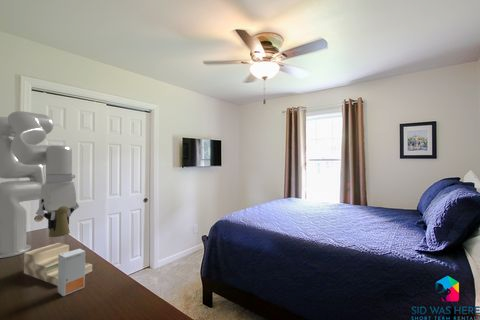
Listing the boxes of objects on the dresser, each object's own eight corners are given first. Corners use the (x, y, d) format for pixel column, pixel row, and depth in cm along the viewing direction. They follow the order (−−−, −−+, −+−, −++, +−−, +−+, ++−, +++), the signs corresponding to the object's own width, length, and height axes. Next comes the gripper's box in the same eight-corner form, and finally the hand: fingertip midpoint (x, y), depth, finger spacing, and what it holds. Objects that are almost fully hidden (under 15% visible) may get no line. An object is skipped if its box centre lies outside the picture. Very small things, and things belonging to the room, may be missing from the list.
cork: (57, 237, 79) (57, 206, 79) (44, 236, 80) (44, 205, 80) (73, 232, 85) (73, 203, 85) (61, 231, 86) (61, 202, 86)
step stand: (24, 273, 82) (24, 252, 82) (58, 260, 92) (58, 242, 92) (58, 286, 73) (58, 263, 73) (92, 271, 84) (92, 251, 84)
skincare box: (63, 297, 68) (63, 257, 68) (57, 292, 70) (57, 254, 70) (85, 287, 73) (85, 250, 73) (79, 283, 75) (79, 247, 75)
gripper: (76, 177, 92) (76, 222, 92) (25, 180, 76) (24, 234, 76) (88, 177, 89) (88, 224, 89) (37, 181, 73) (37, 237, 73)
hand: (58, 228), depth 83 cm, fingers closed on cork, 3 cm apart
